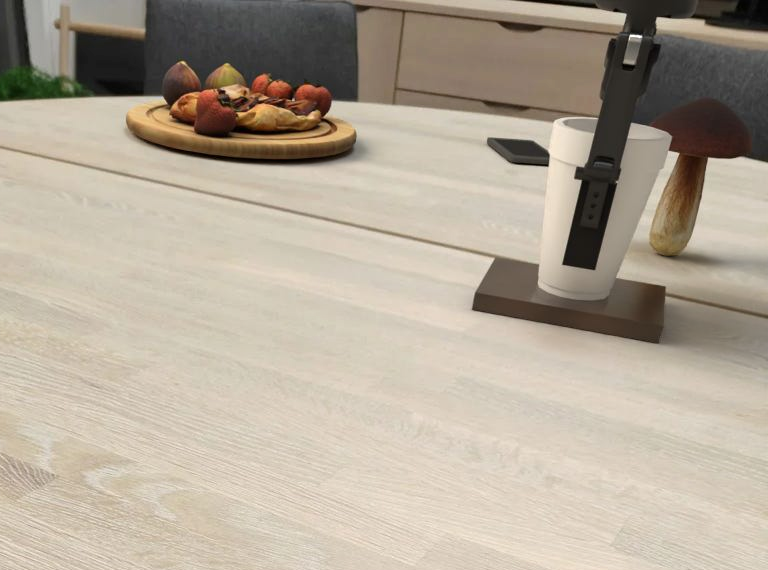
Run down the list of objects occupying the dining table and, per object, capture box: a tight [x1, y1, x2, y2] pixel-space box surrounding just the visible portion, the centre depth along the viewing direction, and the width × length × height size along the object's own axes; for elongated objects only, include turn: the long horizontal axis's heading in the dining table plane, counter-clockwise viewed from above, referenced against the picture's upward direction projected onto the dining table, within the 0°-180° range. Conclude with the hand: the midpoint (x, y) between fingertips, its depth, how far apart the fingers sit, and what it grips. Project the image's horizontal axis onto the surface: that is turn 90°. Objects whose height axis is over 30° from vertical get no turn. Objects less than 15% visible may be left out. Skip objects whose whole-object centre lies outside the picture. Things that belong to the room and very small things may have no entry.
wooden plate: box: [125, 60, 358, 160], centre depth 136 cm, size 32×32×8 cm
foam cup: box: [538, 116, 672, 301], centre depth 85 cm, size 10×9×13 cm
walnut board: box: [471, 257, 667, 344], centre depth 89 cm, size 16×12×2 cm
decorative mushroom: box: [647, 97, 754, 257], centre depth 102 cm, size 11×11×15 cm
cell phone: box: [486, 136, 550, 166], centre depth 145 cm, size 7×14×1 cm, turn 6°
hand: (584, 246), depth 87 cm, fingers open, 13 cm apart
